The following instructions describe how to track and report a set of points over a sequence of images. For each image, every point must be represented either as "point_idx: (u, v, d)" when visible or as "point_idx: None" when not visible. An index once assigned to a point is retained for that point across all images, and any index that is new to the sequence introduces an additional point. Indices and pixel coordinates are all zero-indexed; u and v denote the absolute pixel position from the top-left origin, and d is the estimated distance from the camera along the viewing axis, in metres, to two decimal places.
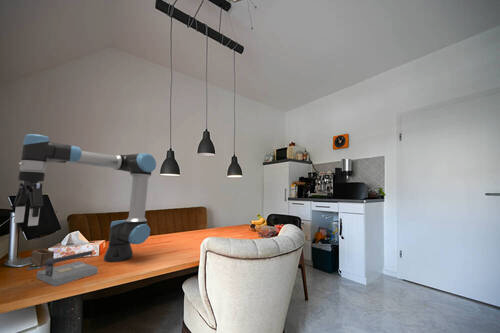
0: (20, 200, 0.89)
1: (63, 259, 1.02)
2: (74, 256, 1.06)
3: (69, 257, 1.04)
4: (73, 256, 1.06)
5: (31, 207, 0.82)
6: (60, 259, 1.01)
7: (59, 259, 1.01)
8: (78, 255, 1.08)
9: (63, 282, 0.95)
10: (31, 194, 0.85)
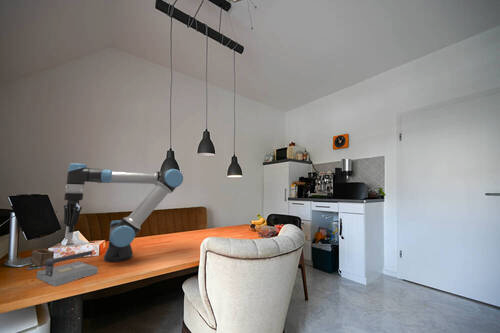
0: (68, 218, 1.11)
1: (63, 259, 1.02)
2: (74, 256, 1.06)
3: (69, 257, 1.04)
4: (73, 256, 1.06)
5: (68, 226, 1.09)
6: (60, 259, 1.01)
7: (59, 259, 1.01)
8: (78, 255, 1.08)
9: (63, 282, 0.95)
10: (71, 213, 1.10)
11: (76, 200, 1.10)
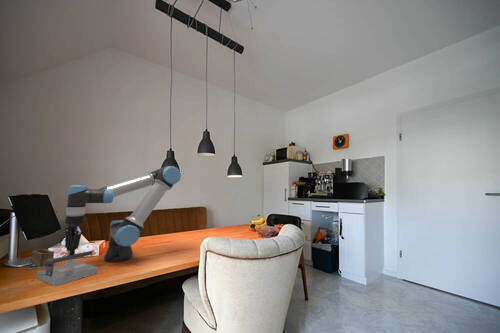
0: (69, 242, 1.08)
1: (63, 259, 1.02)
2: (74, 256, 1.06)
3: (69, 257, 1.04)
4: (73, 256, 1.06)
5: (69, 250, 1.06)
6: (60, 259, 1.01)
7: (59, 259, 1.01)
8: (78, 255, 1.08)
9: (63, 282, 0.95)
10: (72, 237, 1.07)
11: (77, 223, 1.08)
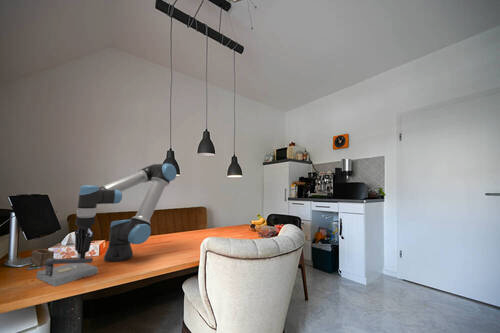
0: (80, 244, 1.04)
1: (60, 262, 0.99)
2: (71, 261, 0.99)
3: (66, 261, 0.99)
4: (70, 261, 0.99)
5: (79, 253, 1.01)
6: (57, 261, 0.98)
7: (56, 261, 0.98)
8: (75, 260, 1.00)
9: (63, 282, 0.95)
10: (83, 239, 1.03)
11: (88, 225, 1.03)
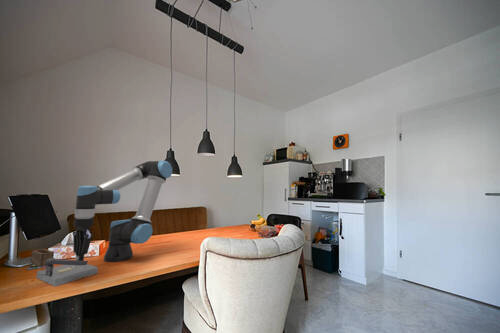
0: (78, 246, 1.01)
1: (58, 263, 0.98)
2: (67, 262, 0.97)
3: (63, 262, 0.97)
4: (66, 262, 0.97)
5: (78, 255, 0.99)
6: (55, 262, 0.98)
7: (54, 261, 0.98)
8: (71, 262, 0.97)
9: (63, 282, 0.95)
10: (81, 241, 1.00)
11: (86, 227, 1.00)
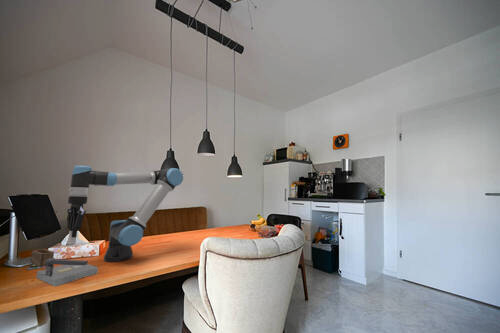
0: (72, 222, 1.07)
1: (58, 263, 0.98)
2: (67, 262, 0.97)
3: (63, 262, 0.97)
4: (66, 262, 0.97)
5: (71, 230, 1.05)
6: (55, 262, 0.98)
7: (54, 261, 0.98)
8: (71, 262, 0.97)
9: (63, 282, 0.95)
10: (75, 217, 1.06)
11: (80, 204, 1.07)
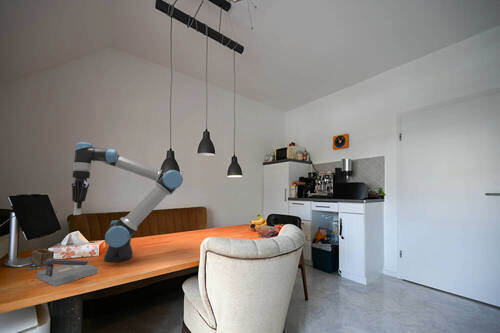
0: (76, 195, 1.16)
1: (58, 263, 0.98)
2: (67, 262, 0.97)
3: (63, 262, 0.97)
4: (66, 262, 0.97)
5: (76, 202, 1.14)
6: (55, 262, 0.98)
7: (54, 261, 0.98)
8: (71, 262, 0.97)
9: (63, 282, 0.95)
10: (79, 190, 1.15)
11: (84, 177, 1.15)
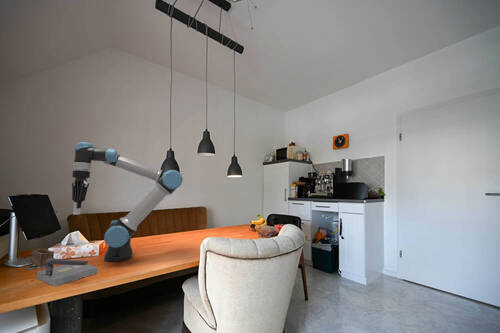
0: (76, 195, 1.16)
1: (58, 263, 0.98)
2: (67, 262, 0.97)
3: (63, 262, 0.97)
4: (66, 262, 0.97)
5: (76, 201, 1.14)
6: (55, 262, 0.98)
7: (54, 261, 0.98)
8: (71, 262, 0.97)
9: (63, 282, 0.95)
10: (79, 190, 1.15)
11: (83, 177, 1.15)
